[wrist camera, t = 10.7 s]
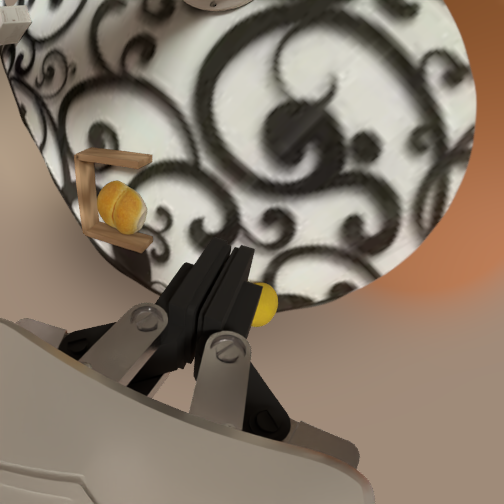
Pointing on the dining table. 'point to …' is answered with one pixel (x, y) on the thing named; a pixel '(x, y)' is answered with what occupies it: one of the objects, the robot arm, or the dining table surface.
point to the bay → (89, 199)
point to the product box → (13, 23)
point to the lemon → (265, 306)
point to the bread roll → (121, 207)
